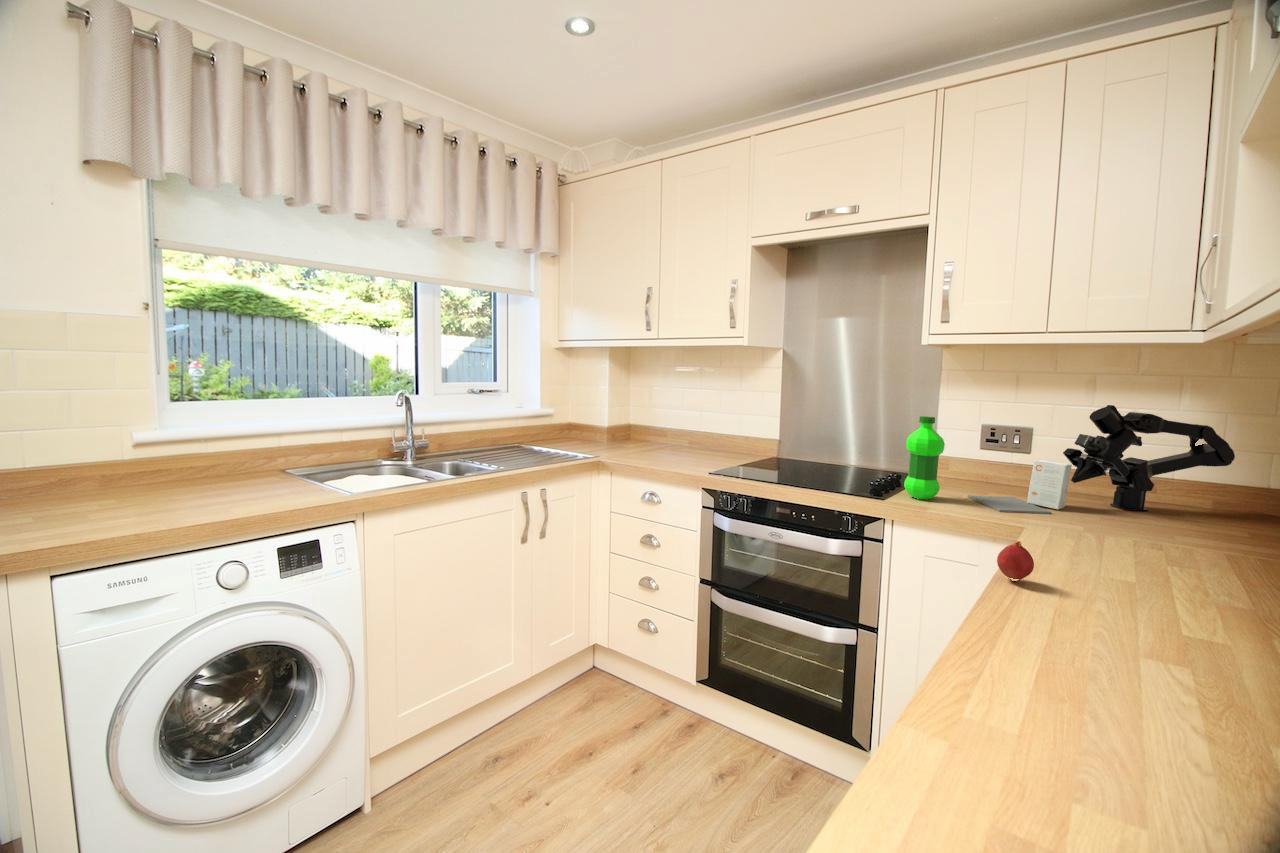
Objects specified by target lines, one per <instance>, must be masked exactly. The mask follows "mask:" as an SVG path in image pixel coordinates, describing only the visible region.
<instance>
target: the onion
mask: <svg viewBox="0 0 1280 853" xmlns="http://www.w3.org/2000/svg"><path fill="white" fill-rule="evenodd" d="M996 559H997V560H996V563H997V567H998V568H999V570H1000V572H1001V573H1002V574H1003V575H1004V576H1005V577H1006V576H1007V577H1009V578H1013V579H1021V580H1022V579H1024V578H1026V577H1028V576H1029V575H1030V574H1031V573H1032V572H1034V568H1035V560H1034V559H1033V557H1032V555H1031V553H1030V551H1028V550H1027V548H1025V547H1023V545H1022V543H1021V541H1020V540H1015V541H1014V542H1013V543H1012V544H1008V545H1007V546H1005V547H1004V548H1003V549H1001V551H1000V552H999V553H998V555H997V558H996ZM1007 577H1006V578H1007ZM1009 578H1008V579H1009Z"/></svg>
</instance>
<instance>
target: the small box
mask: <svg viewBox="0 0 1280 853" xmlns="http://www.w3.org/2000/svg"><path fill="white" fill-rule="evenodd" d="M1072 466H1073V465H1072V463H1071V464H1070V463H1066V462H1065V463H1064V462H1057V461H1050V460H1045V459H1034V460H1033V465H1032V470H1031V476H1030V482H1029V488H1028V493H1027V500H1026V502H1027V503H1030V504H1033V505H1035V506H1039V507H1044V508H1045V507H1046V508H1050V509H1055V510H1061V509H1063V508H1065V506H1066V499H1067V494H1068V490H1069V483H1070V476H1071V473H1072V472H1071V471H1072Z"/></svg>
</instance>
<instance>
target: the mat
mask: <svg viewBox="0 0 1280 853" xmlns="http://www.w3.org/2000/svg"><path fill="white" fill-rule="evenodd" d="M968 497H969V499H971V500H972V501H973V500H974V501H975V502H977V503H980V504H981V503H982V505H983V506H987V507H988V508H990V509H992V508H993V510H995V511H997V512H999V511H1000V512H1001V513H1014V512H1023V513H1022V514H1041V515H1051V514H1052V511H1051V510H1047V509H1045V508H1043V507H1041V506H1039V505H1035V504H1030V503H1027V501H1024V500H1023V499H1021V498H1017V497H1015V496H999V495H998V496H996V495H995V496H994V495H993V496H992V495H975V494H974V495H969V494H968V495H967V498H968ZM1000 512H999V513H1000Z"/></svg>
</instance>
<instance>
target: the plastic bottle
mask: <svg viewBox="0 0 1280 853" xmlns="http://www.w3.org/2000/svg"><path fill="white" fill-rule="evenodd" d="M918 419H919V420H918V423H920V427H919V428H918V429H917V430H915V431H913V432H912V433H911V434H909V435H908V436H907V438H906V443H905V444H906V446H905V447H906V450H907V451H908V452H909V463H908V475H907V477H906V478H905V479H904V484H903V486H904V489H905V491H906V492H907V494H908V495H909V496H910V497H911V496H912V497H914V498H918V499H917V500H919V499H930V500H931V499H933V498H934V497H935V496H937V495H938V494H939V492H940V487H941V486H940V483H939V481H938V470H939V458H940V457H939V456H941V454H943V453H944V450H945V440H944V439H943V437H942V436H940V434H939V433H938V432H937V431H935V430H934V429H933V426H934V424H935V423H936V417H935V416H927V415H926V416H925V415H921V416H919V418H918ZM912 497H911V498H912ZM914 498H913V499H914Z"/></svg>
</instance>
